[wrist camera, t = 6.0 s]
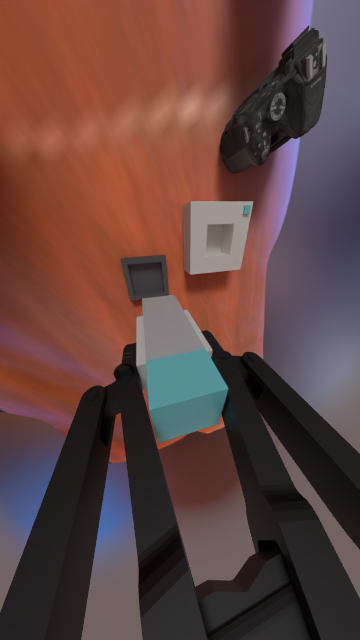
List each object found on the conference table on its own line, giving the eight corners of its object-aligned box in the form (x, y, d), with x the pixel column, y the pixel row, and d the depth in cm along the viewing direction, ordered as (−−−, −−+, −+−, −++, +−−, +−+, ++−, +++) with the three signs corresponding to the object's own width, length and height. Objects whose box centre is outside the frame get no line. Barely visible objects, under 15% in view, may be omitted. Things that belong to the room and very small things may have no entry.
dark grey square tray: (131, 297, 34) (130, 301, 33) (121, 258, 30) (120, 259, 28) (167, 293, 36) (168, 296, 34) (164, 254, 31) (165, 256, 30)
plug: (146, 325, 19) (158, 443, 9) (141, 298, 17) (149, 410, 6) (175, 321, 20) (218, 423, 9) (174, 294, 18) (228, 388, 7)
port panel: (183, 269, 34) (190, 275, 30) (182, 205, 28) (191, 201, 23) (228, 265, 36) (241, 269, 32) (237, 205, 30) (254, 201, 25)
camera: (245, 193, 29) (288, 178, 21) (210, 151, 25) (246, 112, 16) (296, 107, 24) (376, 45, 16) (263, 37, 20) (351, -98, 12)
